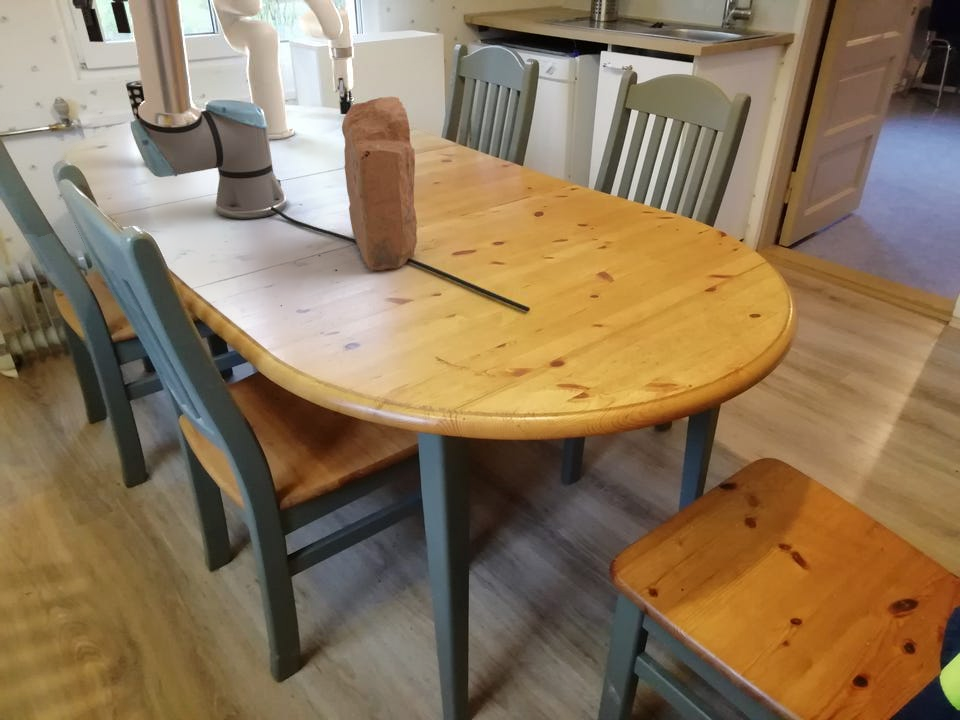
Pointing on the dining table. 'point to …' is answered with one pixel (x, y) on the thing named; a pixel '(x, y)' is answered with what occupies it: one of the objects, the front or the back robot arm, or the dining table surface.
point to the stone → (381, 181)
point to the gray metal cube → (350, 103)
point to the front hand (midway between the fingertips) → (111, 37)
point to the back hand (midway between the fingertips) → (347, 111)
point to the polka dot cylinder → (135, 96)
